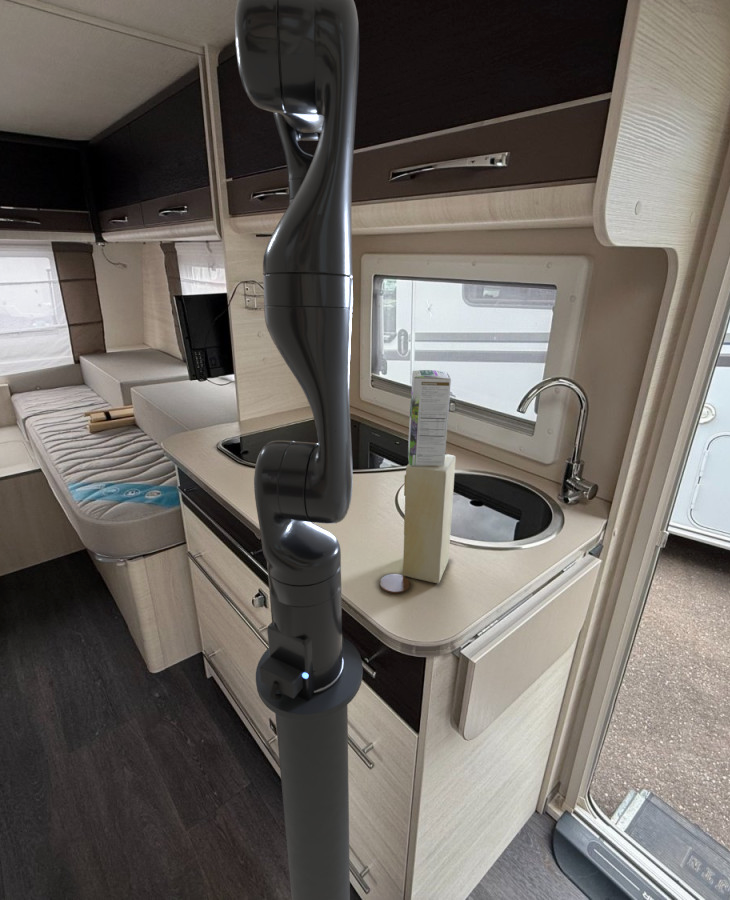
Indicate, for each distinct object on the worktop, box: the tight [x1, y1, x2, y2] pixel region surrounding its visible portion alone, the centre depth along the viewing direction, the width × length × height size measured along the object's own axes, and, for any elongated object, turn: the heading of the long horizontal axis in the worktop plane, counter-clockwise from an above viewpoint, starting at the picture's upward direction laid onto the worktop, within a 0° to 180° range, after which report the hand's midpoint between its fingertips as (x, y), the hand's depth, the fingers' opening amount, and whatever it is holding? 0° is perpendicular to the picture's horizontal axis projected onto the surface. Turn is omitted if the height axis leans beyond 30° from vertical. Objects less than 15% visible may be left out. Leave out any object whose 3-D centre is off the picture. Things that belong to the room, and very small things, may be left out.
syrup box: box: [407, 369, 452, 466], centre depth 75 cm, size 6×6×14 cm
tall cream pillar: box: [402, 453, 457, 584], centre depth 81 cm, size 8×7×21 cm
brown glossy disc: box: [379, 573, 410, 595], centre depth 80 cm, size 5×5×1 cm
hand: (315, 332), depth 83 cm, fingers open, 8 cm apart
